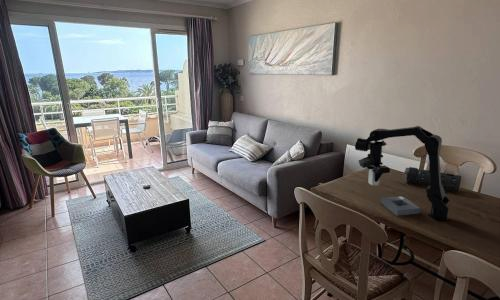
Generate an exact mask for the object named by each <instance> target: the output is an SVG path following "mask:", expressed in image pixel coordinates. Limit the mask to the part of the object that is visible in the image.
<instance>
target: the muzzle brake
mask: <svg viewBox="0 0 500 300" xmlns="http://www.w3.org/2000/svg"><path fill="white" fill-rule="evenodd" d="M440 174H441V184H442V186H443V188H444V191H448V192H453V193H458V192H460V188H461V183H462V175H458V174H452V173H447V172H441V171H440ZM403 181H406V182H408V183H410V184H411V183H412V184H415V185H417V186H427V187H428V186H429V185H431V182H430V169H429V170H428V169H422V168H421V169H419V168H417V167H413V166H409V167H405V169H404V172H403Z"/></svg>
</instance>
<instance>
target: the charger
mask: <svg viewBox="0 0 500 300" xmlns="http://www.w3.org/2000/svg"><path fill="white" fill-rule="evenodd" d="M372 170H375V169H369V171H368V181H367V182H368V184H369V185H371V186H379V185H380V178H381V177H380V178H379V180H378V181H377V182H375V176H374V172H373V171H372Z"/></svg>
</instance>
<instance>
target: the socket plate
mask: <svg viewBox="0 0 500 300" xmlns="http://www.w3.org/2000/svg"><path fill="white" fill-rule="evenodd" d="M380 199H381V201H380V203H381V205H382V206H384V207H385V208H386V209H388V210H389V211H390V212H392V213H393V214H394V215H395V216H398V217H399V216H407V215H409V216H410V215H419V214H420V213H421V207H419V206H418V205H416V204H415V203H413V201H412V202H411V200H409V199H408V198H406V197H405V196H402V195H400V196H390V197H381V198H380Z"/></svg>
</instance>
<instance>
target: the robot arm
mask: <svg viewBox="0 0 500 300" xmlns="http://www.w3.org/2000/svg"><path fill="white" fill-rule="evenodd" d="M408 136H413V137H415V138H417V140H419V142H421V143H422V144H424V148H425V151H426V153H427V155H428V164H429V171H430V182H431V185H429V186H427V187H426V189H425V190H426V198H428V201H429V202H430V203H431V209H430V213H427V215H428V216H429V217H430V218H432V219H433V220H435V221H436V222H442V221H443V222H444V221H450V218H449V217H448V212H449V207H448V205H449V204H450V202H451V200H450V199H449V197H448V196H447V195H446V191H445V190H444V188H443V186H442V184H441V174H440V172H441V160H440V153H441V148H442V143H443V140H442V137H441V136H440V135H437V134H434V133H432V132H430V131H428V130H426V129H424V128H423V127H422V126H420V125H415V126H409V127H401V128H392V129H387V128H376V129H374V130H372V131H371V132H370V133H369V136H368V137H367V138H361V137H357V139H356V142H355V145H354V150H356V151H360V152H369V153H367V156H366V157H363V158H361V159H358V164H359V167H361V168H363V169H367V171H368V172H369V169H375V170H372V171H373V172H374V176H375V182H377V181H378V180H379V181H380V179H379V178H381V177H382V176H383V174H389V173H391V169H390V167H389V166H386V165H384V164H383V162H382V158H384V154H382V152H383V147H385V146H386V145H388V144H387V142H385V139H390V138H399V137H408Z"/></svg>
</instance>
